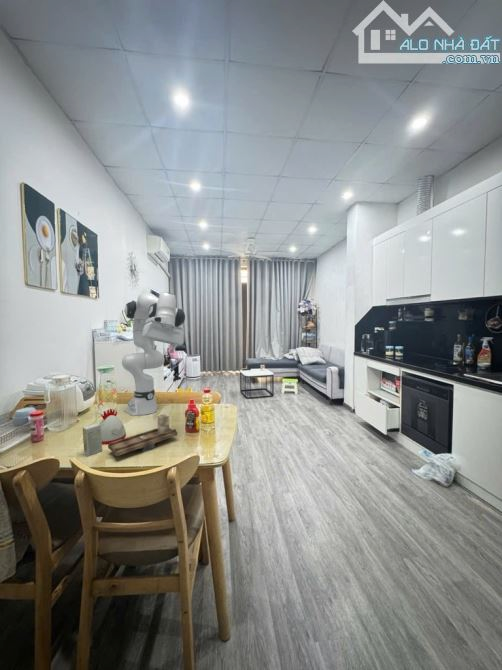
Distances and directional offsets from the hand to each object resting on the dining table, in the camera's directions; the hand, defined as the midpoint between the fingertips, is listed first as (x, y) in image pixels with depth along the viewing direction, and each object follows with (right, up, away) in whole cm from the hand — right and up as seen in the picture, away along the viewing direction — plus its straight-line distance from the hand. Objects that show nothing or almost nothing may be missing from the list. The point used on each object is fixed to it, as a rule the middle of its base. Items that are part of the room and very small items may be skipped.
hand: (163, 351), depth 123 cm
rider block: (-2, -40, +6) cm, 41 cm away
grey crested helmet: (-30, -45, +9) cm, 54 cm away
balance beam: (-9, -45, 0) cm, 46 cm away
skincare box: (-30, -45, -5) cm, 55 cm away
